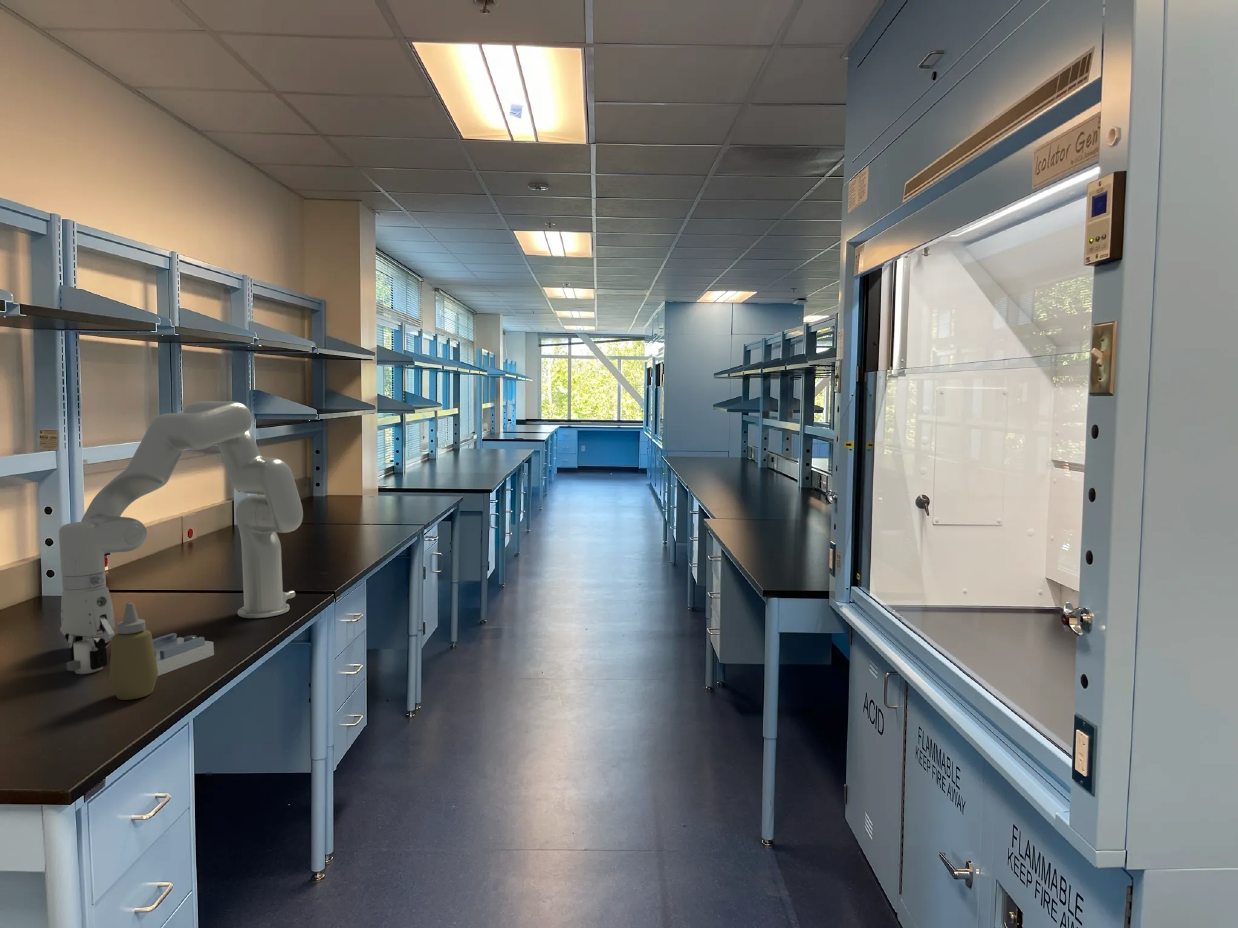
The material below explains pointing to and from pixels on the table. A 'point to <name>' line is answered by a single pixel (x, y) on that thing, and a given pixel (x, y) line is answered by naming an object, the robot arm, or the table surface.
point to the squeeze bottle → (132, 658)
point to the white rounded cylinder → (82, 658)
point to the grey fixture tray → (180, 651)
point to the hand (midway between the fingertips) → (89, 665)
